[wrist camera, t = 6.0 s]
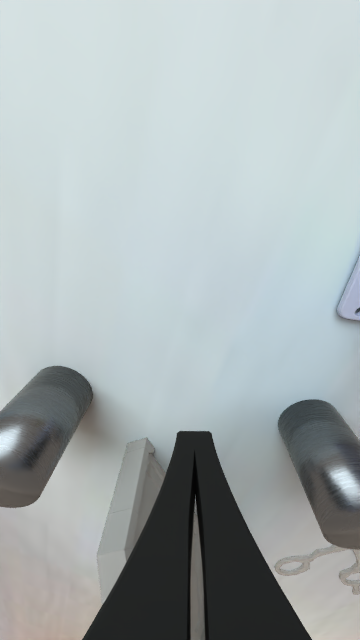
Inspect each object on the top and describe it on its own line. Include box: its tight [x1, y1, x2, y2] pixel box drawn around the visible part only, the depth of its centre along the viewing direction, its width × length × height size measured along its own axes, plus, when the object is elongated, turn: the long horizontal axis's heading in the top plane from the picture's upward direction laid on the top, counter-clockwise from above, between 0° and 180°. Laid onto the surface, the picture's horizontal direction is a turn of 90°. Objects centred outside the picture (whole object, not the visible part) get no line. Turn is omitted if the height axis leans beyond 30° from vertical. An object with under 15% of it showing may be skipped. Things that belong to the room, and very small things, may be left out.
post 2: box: [278, 400, 360, 550], centre depth 13 cm, size 4×4×6 cm
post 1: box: [0, 366, 93, 508], centre depth 13 cm, size 4×4×6 cm
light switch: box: [97, 437, 205, 640], centre depth 16 cm, size 2×12×8 cm, turn 25°
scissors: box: [275, 545, 360, 595], centre depth 22 cm, size 11×1×20 cm
